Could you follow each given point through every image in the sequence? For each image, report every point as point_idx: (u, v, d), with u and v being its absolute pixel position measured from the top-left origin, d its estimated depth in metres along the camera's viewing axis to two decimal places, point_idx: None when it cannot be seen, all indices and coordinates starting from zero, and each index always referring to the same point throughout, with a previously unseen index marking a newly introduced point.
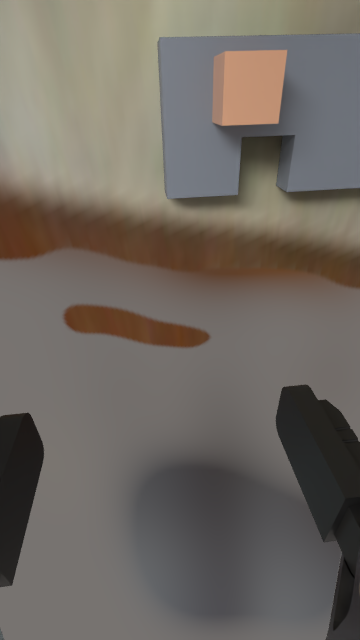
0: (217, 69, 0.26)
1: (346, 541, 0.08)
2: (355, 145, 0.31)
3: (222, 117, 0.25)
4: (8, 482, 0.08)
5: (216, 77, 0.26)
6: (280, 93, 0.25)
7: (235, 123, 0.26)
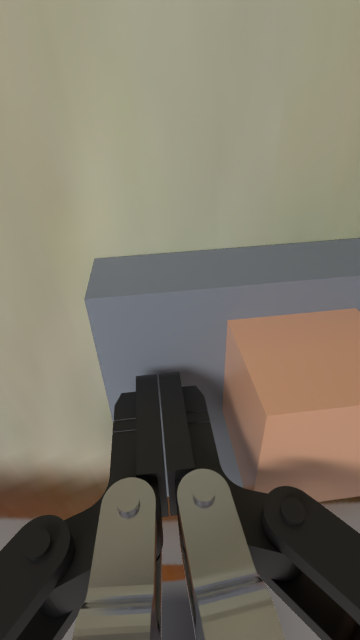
0: (237, 373, 0.10)
1: (177, 511, 0.08)
2: None
3: None
4: None
5: (234, 378, 0.11)
6: None
7: None
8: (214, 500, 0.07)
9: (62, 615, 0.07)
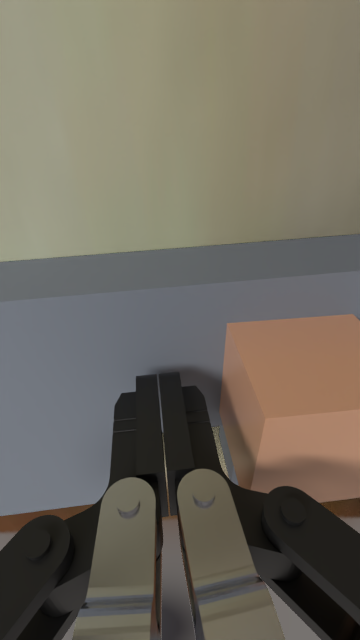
0: (236, 375, 0.10)
1: (177, 512, 0.08)
2: None
3: None
4: None
5: (233, 380, 0.11)
6: None
7: None
8: (214, 500, 0.07)
9: (62, 615, 0.07)
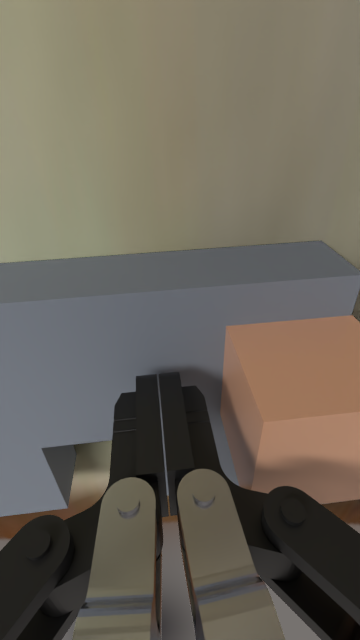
0: (236, 378, 0.10)
1: (177, 512, 0.08)
2: None
3: None
4: None
5: (232, 383, 0.11)
6: None
7: None
8: (214, 500, 0.07)
9: (62, 615, 0.07)
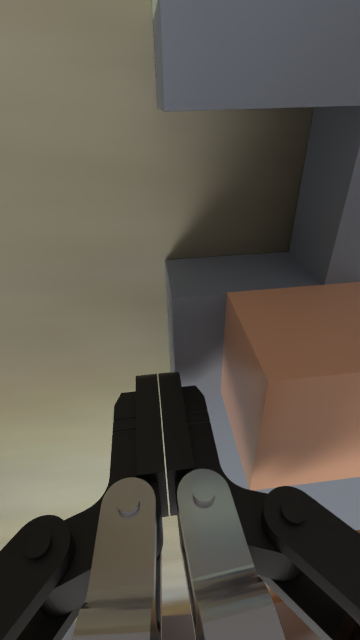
0: None
1: (177, 512, 0.08)
2: None
3: None
4: None
5: None
6: None
7: None
8: (214, 500, 0.07)
9: (62, 615, 0.07)
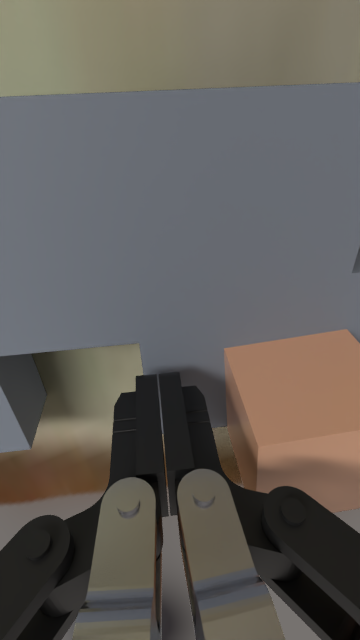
0: (235, 399, 0.11)
1: (177, 511, 0.08)
2: None
3: None
4: None
5: (233, 403, 0.11)
6: None
7: None
8: (214, 500, 0.07)
9: (62, 615, 0.07)
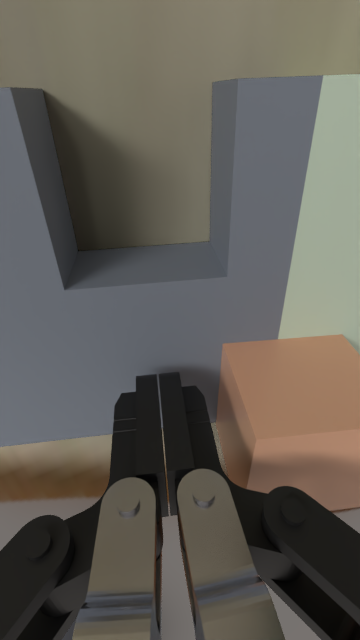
0: (231, 394, 0.11)
1: (177, 512, 0.08)
2: (59, 369, 0.12)
3: None
4: None
5: (228, 398, 0.11)
6: None
7: None
8: (214, 500, 0.07)
9: (62, 615, 0.07)
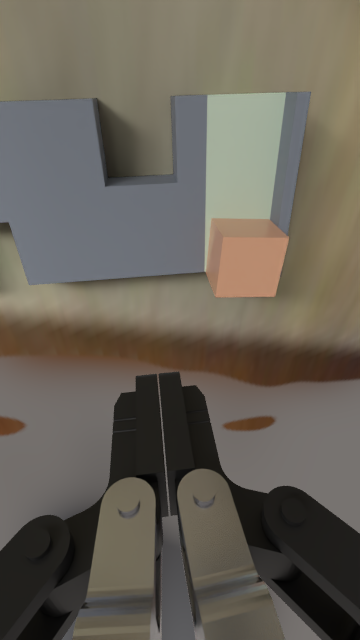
0: (214, 237, 0.24)
1: (177, 512, 0.08)
2: (99, 231, 0.24)
3: (216, 290, 0.24)
4: None
5: (212, 242, 0.24)
6: (279, 272, 0.23)
7: (229, 295, 0.24)
8: (214, 500, 0.07)
9: (62, 615, 0.07)
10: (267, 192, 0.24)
